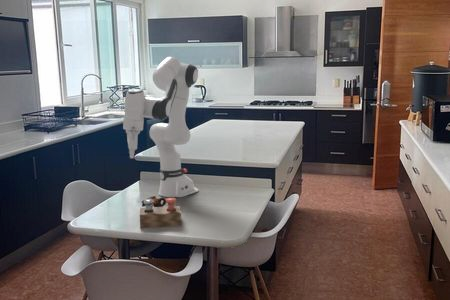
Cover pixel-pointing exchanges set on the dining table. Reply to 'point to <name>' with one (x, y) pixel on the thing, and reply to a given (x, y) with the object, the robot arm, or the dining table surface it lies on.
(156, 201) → the pottery mug
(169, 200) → the red plug
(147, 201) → the steel plug
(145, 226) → the walnut plug panel
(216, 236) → the dining table surface
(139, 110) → the robot arm
